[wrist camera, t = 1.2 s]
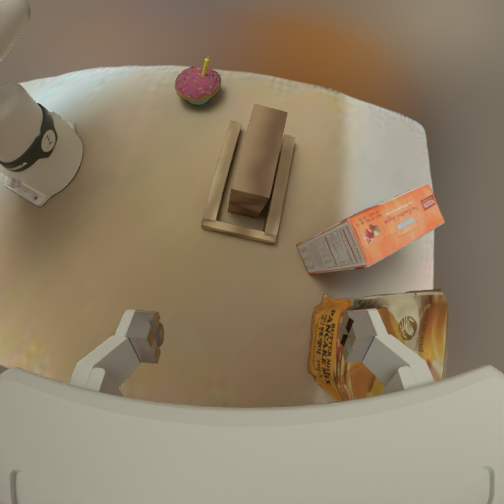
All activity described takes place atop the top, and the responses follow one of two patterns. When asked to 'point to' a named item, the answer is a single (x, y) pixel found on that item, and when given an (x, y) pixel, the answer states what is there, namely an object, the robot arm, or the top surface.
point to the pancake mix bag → (397, 324)
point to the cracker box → (372, 233)
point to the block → (257, 161)
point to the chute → (275, 198)
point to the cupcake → (198, 84)
